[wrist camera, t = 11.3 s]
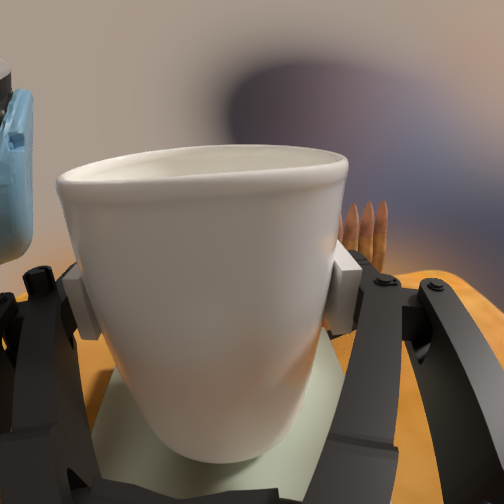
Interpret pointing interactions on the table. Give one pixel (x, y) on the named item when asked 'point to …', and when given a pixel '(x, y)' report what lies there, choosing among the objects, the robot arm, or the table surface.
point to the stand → (210, 474)
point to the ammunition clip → (364, 240)
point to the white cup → (210, 284)
